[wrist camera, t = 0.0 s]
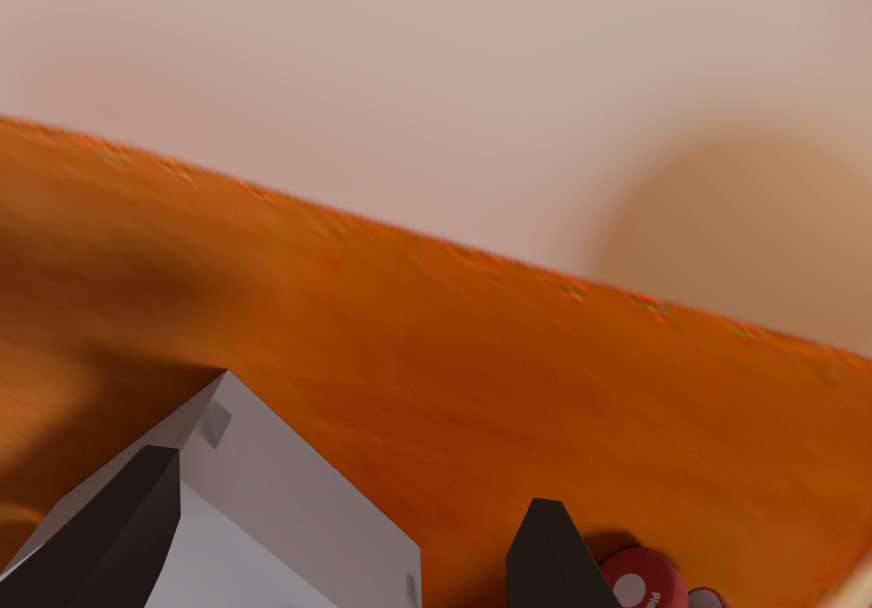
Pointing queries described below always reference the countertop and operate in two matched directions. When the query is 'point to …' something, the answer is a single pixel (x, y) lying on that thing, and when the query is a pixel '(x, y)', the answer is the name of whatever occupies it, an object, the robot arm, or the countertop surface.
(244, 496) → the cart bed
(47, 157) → the countertop surface
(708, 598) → the toy fire truck
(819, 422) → the countertop surface
